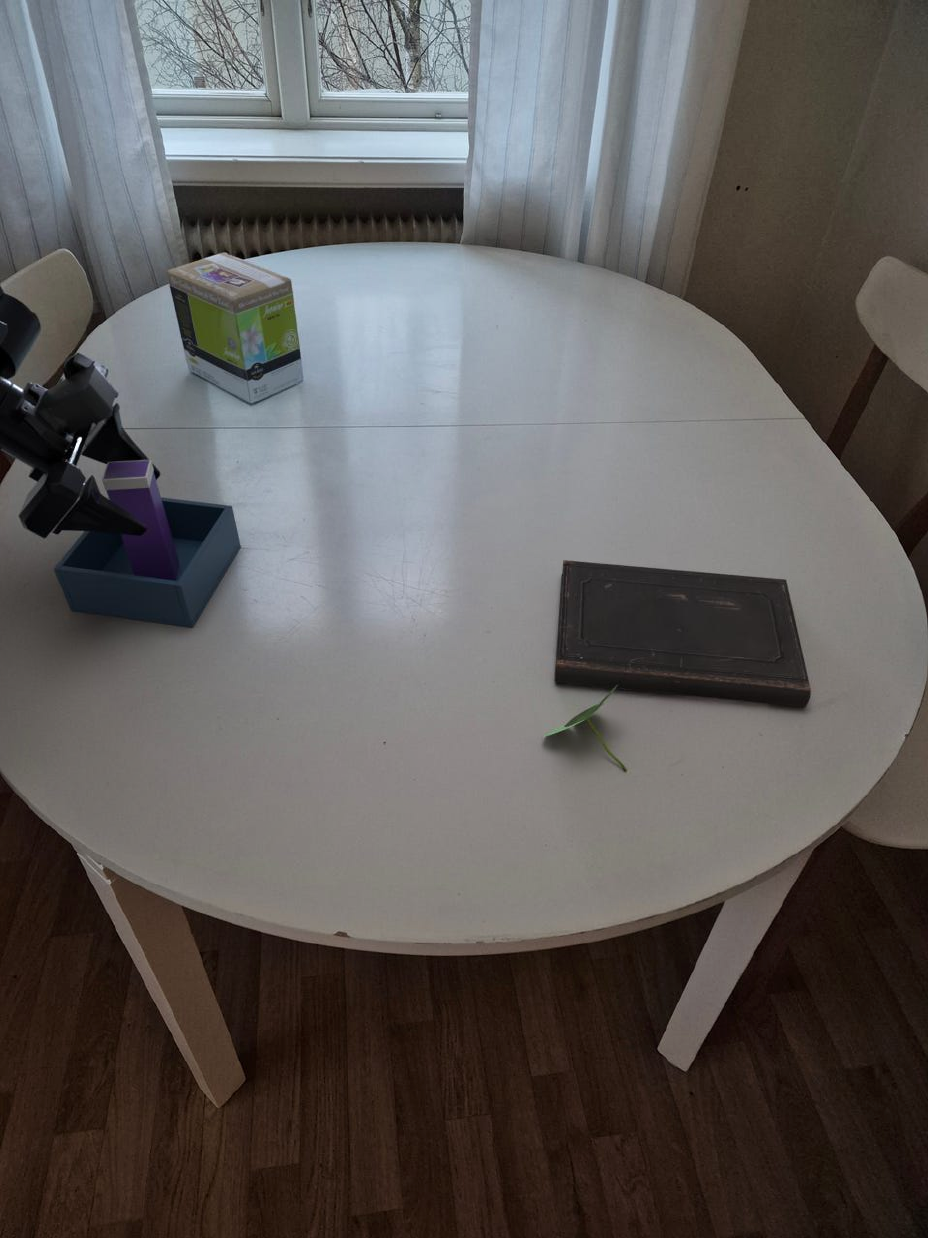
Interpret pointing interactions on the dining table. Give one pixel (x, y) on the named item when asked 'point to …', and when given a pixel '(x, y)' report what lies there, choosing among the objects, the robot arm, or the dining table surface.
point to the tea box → (237, 325)
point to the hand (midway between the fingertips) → (151, 503)
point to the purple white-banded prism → (143, 518)
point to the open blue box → (109, 586)
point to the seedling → (586, 715)
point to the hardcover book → (679, 634)
